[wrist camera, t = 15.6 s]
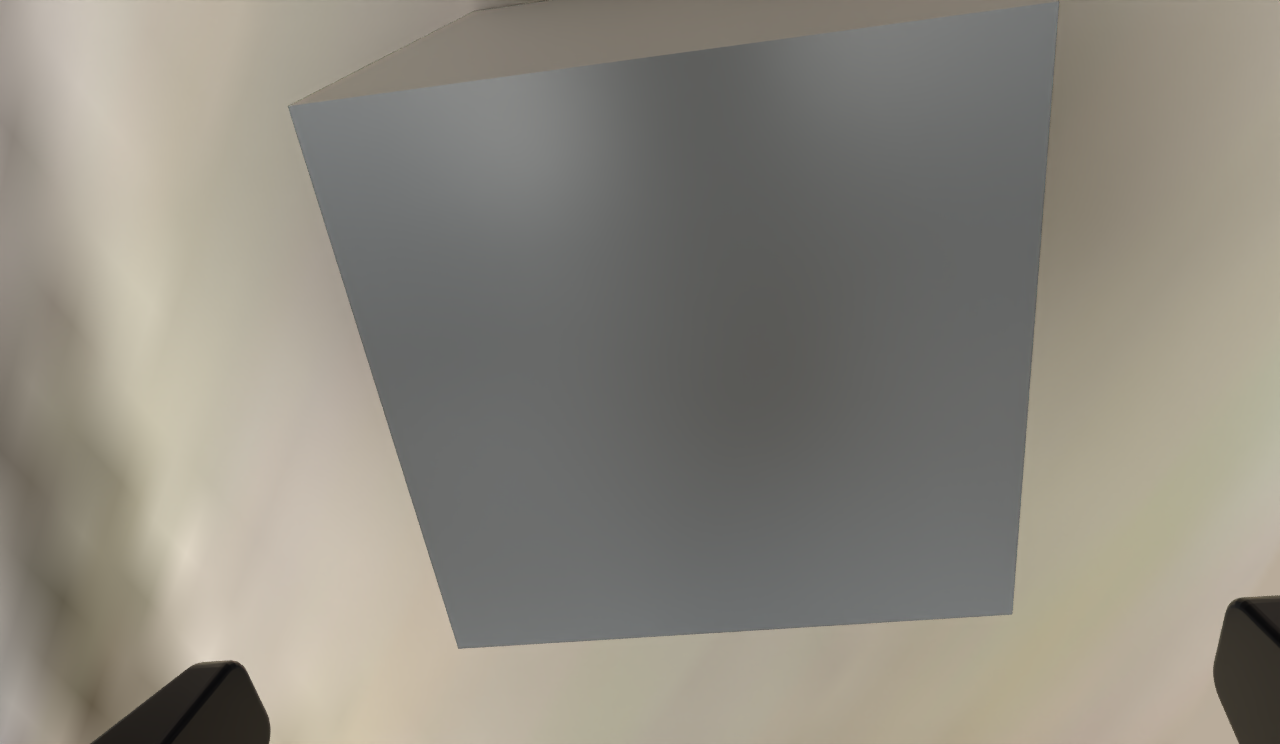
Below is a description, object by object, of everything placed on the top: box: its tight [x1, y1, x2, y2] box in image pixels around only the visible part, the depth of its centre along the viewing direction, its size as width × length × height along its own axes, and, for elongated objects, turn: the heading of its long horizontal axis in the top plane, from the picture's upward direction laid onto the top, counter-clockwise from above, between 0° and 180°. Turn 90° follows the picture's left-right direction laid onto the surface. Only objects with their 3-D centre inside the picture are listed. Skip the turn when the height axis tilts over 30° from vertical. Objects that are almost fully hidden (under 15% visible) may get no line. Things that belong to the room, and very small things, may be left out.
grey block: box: [288, 0, 1059, 649], centre depth 14 cm, size 8×8×9 cm
